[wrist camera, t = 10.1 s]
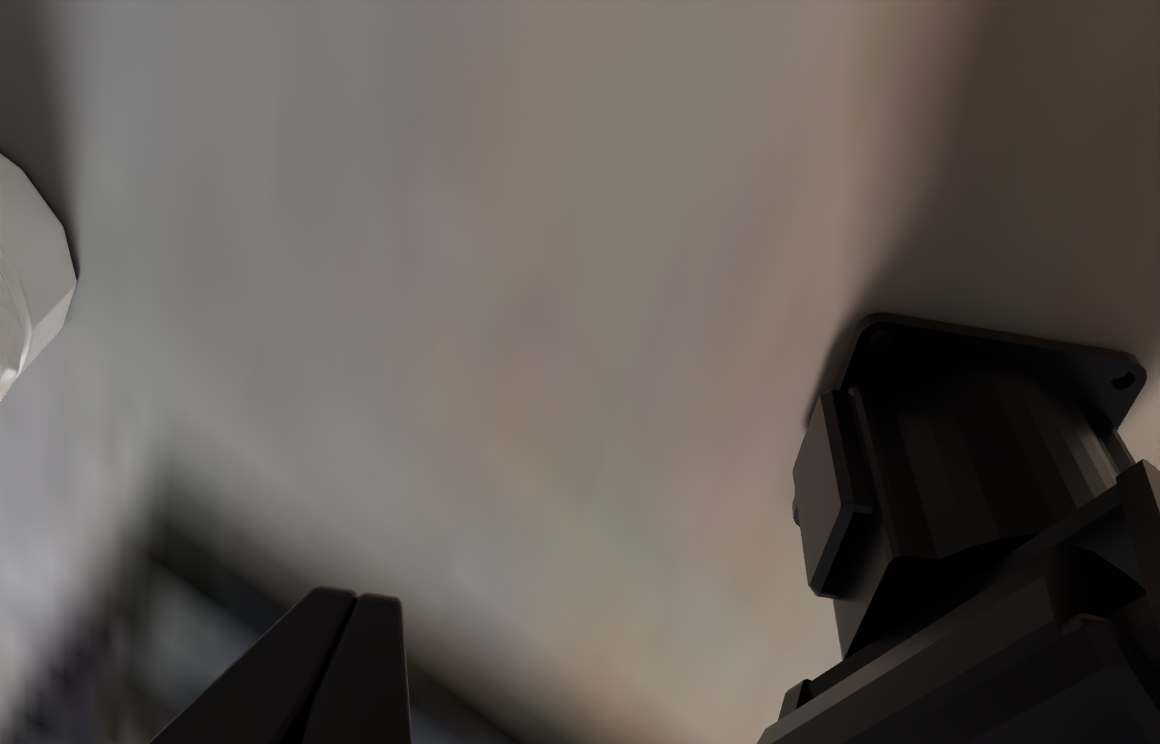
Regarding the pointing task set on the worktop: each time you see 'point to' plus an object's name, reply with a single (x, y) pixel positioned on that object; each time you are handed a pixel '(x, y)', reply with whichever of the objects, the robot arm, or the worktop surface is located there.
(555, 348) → the worktop surface
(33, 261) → the white cup
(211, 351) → the worktop surface
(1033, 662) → the robot arm
